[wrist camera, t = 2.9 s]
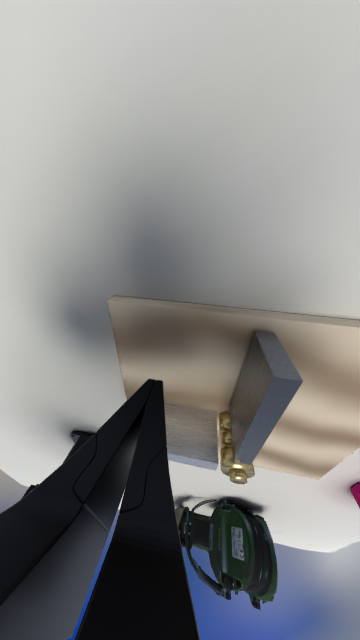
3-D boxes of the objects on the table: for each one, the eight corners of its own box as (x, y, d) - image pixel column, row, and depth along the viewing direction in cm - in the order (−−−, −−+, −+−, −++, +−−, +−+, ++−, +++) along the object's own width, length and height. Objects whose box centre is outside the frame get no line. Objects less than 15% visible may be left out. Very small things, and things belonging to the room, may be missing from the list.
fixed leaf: (247, 412, 15) (260, 478, 11) (241, 426, 16) (251, 489, 12) (128, 392, 16) (103, 444, 12) (131, 406, 18) (108, 458, 14)
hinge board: (313, 468, 20) (318, 479, 19) (138, 433, 22) (135, 441, 22) (467, 331, 10) (492, 341, 9) (114, 295, 12) (107, 300, 11)
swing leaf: (241, 429, 16) (248, 480, 13) (218, 425, 16) (220, 473, 13) (283, 333, 10) (315, 382, 7) (246, 329, 10) (261, 375, 7)
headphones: (199, 534, 22) (153, 517, 35) (271, 720, 16) (183, 617, 29) (250, 468, 30) (198, 474, 43) (310, 574, 24) (228, 544, 37)
